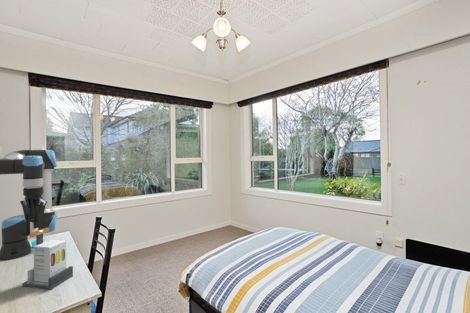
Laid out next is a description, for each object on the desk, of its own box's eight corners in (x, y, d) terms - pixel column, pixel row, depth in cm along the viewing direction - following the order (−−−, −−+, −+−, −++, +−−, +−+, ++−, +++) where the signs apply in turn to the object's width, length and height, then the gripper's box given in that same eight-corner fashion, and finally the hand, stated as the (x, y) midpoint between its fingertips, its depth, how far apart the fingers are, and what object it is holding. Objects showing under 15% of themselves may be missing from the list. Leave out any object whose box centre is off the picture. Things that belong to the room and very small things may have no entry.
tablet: (52, 246, 160) (52, 244, 160) (29, 251, 152) (29, 249, 152) (49, 238, 174) (49, 236, 174) (27, 242, 166) (27, 240, 166)
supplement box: (49, 283, 112) (48, 247, 111) (33, 281, 113) (32, 246, 113) (67, 272, 121) (66, 240, 120) (51, 271, 123) (51, 238, 122)
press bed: (46, 273, 124) (46, 263, 124) (72, 276, 121) (72, 266, 121) (22, 286, 112) (22, 275, 112) (51, 289, 110) (50, 278, 109)
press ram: (48, 269, 123) (48, 226, 122) (52, 270, 123) (51, 226, 122) (27, 281, 112) (26, 233, 112) (31, 282, 112) (30, 234, 111)
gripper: (51, 186, 120) (52, 232, 120) (29, 185, 122) (30, 230, 122) (37, 188, 112) (38, 238, 113) (13, 187, 114) (15, 236, 115)
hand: (34, 234), depth 118 cm, fingers closed
